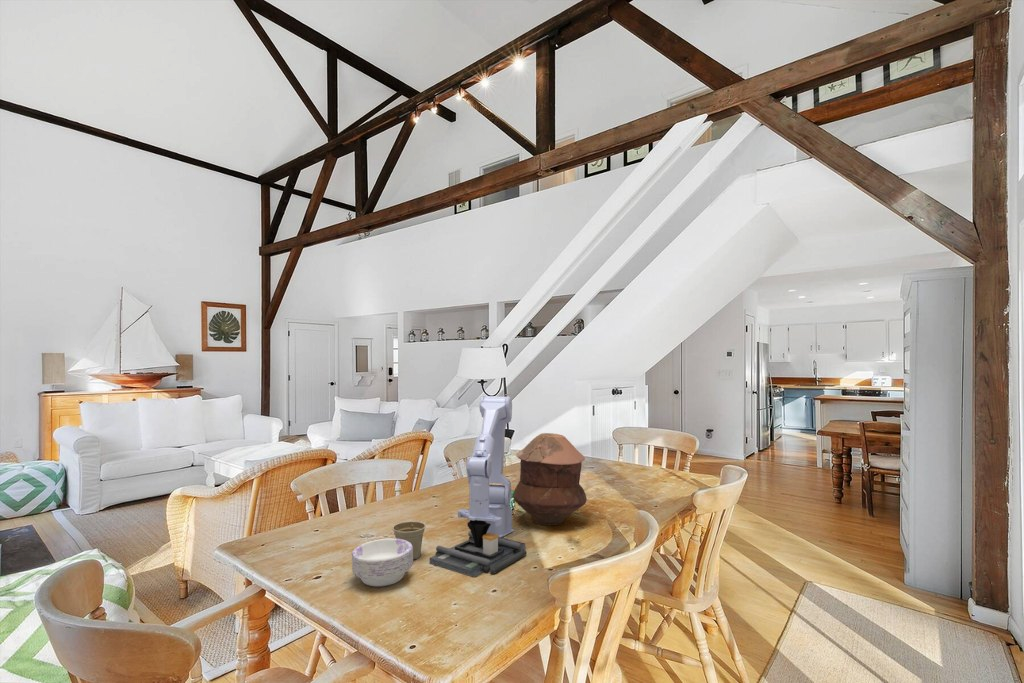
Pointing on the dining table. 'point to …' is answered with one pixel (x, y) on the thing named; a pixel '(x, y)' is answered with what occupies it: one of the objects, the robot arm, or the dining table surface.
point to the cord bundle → (480, 560)
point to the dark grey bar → (505, 543)
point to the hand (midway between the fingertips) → (479, 546)
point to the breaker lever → (490, 543)
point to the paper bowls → (382, 561)
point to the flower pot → (411, 534)
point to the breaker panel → (469, 548)
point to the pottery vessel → (550, 479)
